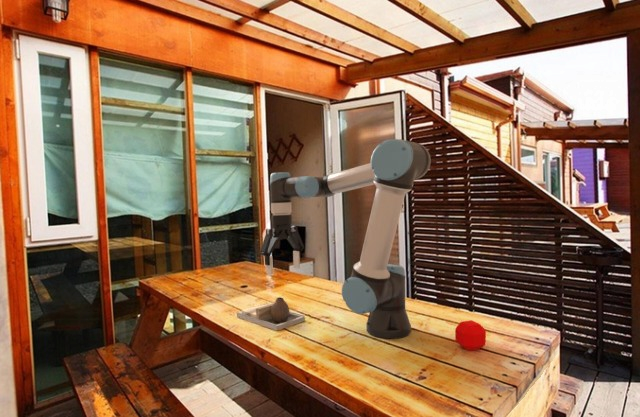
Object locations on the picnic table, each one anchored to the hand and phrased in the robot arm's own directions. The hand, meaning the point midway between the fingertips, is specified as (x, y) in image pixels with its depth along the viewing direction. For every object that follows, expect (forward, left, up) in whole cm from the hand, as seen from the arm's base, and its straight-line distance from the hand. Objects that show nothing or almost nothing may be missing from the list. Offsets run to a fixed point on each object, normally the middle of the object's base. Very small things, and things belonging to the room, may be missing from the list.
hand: (283, 271), depth 147 cm
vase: (+1, +2, -19) cm, 19 cm away
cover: (+11, +1, -17) cm, 21 cm away
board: (+7, +2, -19) cm, 20 cm away
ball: (-62, -20, -19) cm, 68 cm away
